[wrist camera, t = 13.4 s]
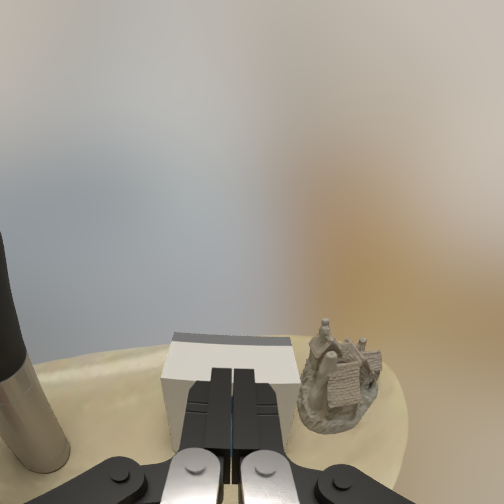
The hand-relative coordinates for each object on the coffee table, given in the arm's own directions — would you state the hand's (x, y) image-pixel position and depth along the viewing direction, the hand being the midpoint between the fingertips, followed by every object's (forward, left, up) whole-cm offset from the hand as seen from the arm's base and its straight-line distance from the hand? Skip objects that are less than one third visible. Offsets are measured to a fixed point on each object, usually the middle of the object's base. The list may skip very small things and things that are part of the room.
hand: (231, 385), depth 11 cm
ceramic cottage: (+18, +28, -30) cm, 45 cm away
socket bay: (0, +20, -30) cm, 36 cm away
